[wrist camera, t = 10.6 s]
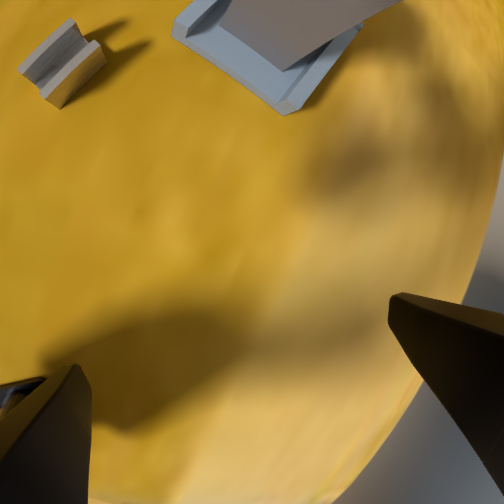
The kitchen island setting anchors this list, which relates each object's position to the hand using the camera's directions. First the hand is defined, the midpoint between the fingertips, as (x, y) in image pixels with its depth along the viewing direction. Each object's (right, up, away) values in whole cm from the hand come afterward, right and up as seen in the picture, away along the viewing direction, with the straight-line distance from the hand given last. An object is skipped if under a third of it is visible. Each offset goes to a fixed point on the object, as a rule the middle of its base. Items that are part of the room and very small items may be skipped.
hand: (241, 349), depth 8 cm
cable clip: (-11, +13, +7) cm, 18 cm away
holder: (+1, +17, +9) cm, 20 cm away
